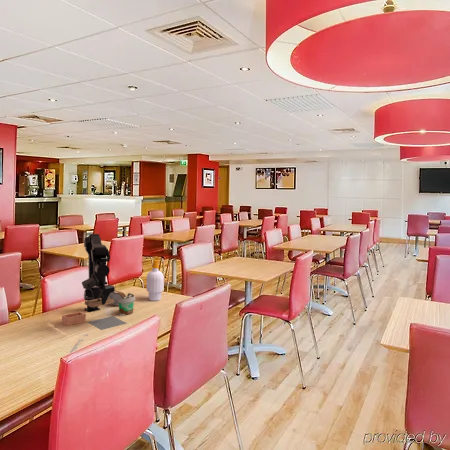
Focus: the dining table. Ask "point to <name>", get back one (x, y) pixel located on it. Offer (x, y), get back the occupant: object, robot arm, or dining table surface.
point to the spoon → (77, 344)
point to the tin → (116, 297)
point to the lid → (98, 302)
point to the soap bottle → (155, 282)
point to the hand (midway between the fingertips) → (99, 302)
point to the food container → (126, 304)
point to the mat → (107, 322)
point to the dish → (73, 318)
